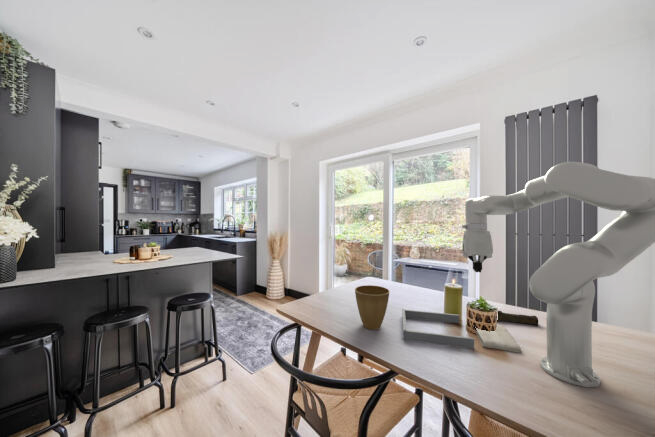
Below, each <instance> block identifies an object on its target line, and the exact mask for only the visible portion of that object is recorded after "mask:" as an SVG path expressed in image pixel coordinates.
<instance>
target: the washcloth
mask: <svg viewBox="0 0 655 437" xmlns="http://www.w3.org/2000/svg"><path fill="white" fill-rule="evenodd" d="M496 326H497V327H496V330H495V331H490V332H489V331H486V330H481V329H478V328H476V327H475V328H476V330H477V333H476V332H475V334H476V336H477V338H478V340H479V342H480V344H481V346H482V347H484V348H488V349H498V350H504V351H508V352H515V353H522V348H521V346H520V345H519V344H518V342H517V341H516V340H515V338H514V336H512V334H511V333H510V332H509V331H508V328H506V327H505V326H504V325H503V326H502V325H496Z"/></svg>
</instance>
